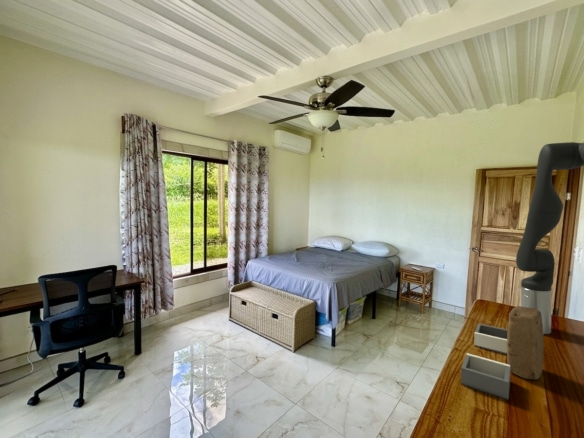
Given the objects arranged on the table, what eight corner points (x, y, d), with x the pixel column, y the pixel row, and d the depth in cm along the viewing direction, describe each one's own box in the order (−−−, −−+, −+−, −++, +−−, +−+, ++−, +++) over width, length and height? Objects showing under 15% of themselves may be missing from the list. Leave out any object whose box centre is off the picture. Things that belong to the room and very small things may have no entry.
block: (535, 384, 80) (536, 317, 79) (504, 372, 86) (504, 310, 85) (546, 370, 86) (547, 308, 85) (516, 360, 92) (517, 301, 91)
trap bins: (478, 335, 110) (478, 323, 109) (513, 343, 103) (513, 330, 102) (461, 384, 82) (461, 367, 81) (508, 400, 74) (508, 382, 74)
